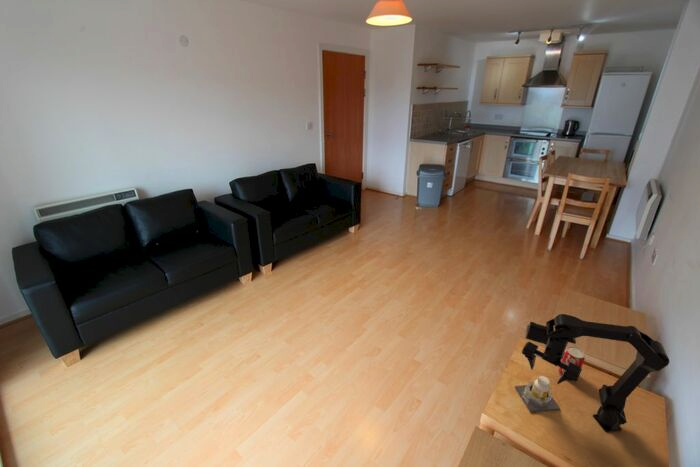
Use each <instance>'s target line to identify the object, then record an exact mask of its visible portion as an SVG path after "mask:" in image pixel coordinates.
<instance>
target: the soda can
mask: <svg viewBox="0 0 700 467" xmlns="http://www.w3.org/2000/svg"><path fill="white" fill-rule="evenodd" d="M585 359H586V356H585V352H584V351H583V350H582V349H581V348H578V347H575V346H569V347H566V349H565V354H564V356H563V358H562V359H561V361H562V362H564V363H566V364H568V365H569V364H570V362H571V363H573V364H575V365H577V366H579V367H581V368H582V367H583V365H584V362H585ZM557 370H558V373H559V375H560V377H561V376H562V374H563V373H564V371H565V370H564V369H562V368H560V367H558V368H557Z"/></svg>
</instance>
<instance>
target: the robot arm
mask: <svg viewBox="0 0 700 467" xmlns="http://www.w3.org/2000/svg"><path fill="white" fill-rule="evenodd" d="M545 324H546V325H542V324H538V323H536V322H533V321H530V322H529V323H528V325H527V327H526V330H525V337H524V338H525V339H526V340H530V341H527V342H526V343H525V344H524V346H523V347H522V350H521V353H522V355H523V356H524V357H525V358H526V359H527V361H528V363H529V365H530V370H531V371H532V370H534V367H535V365H536V359H537V357H538V358H540V359H541V360H543V361H545V362H547V363H549V364H551V365H553V366H556V367H558V368H559V367H560V368H562V369H564V370H565V371H564V373H563V374H562V376H561V375H560V377H559V379H558V381H557V382H556V383H557V385H560V384H561V383H564V382H566V381H570V382H571V381H573V382H577V381H578V380H579V377H580V376H581V373H582V372H583V369H582V367H579V366H577V365H575V364H573V363H571V362H570V364H569V365H568V364H566V363H564V362H562V361H561V360H562V358H563V356H564V354H565V350H566V349H567V348H568V347H567V346H568V344H569V343H571V344H575V345H576V344H577V341H576V339H577V338H581V337H590V338H597V339H604V340H611V341H616V342H617V341H618V342H624V343H625V342H626V343H629V344H630V345H631V346H633V348H634V349H635V350H636V356H635V359H634V361H633V362H631V364H630V365H629V366H628V368H627V369H626V370H625V371H624V372H623V374H621V376H620V377H619V378H618V379H617V380H616V381H615V382H614V384H613V385H607V384H605V383H604V384H602V386H601V387H600V388H599V389H598V390H597V391H598V396H599V401H600V406H599V408H598V409H597V411H596V413H595V414H592V416H593V419H594V420H595V421H596V422H597V423H598V424H599V426H600V427H601V429H602V430H603V431H604V432H605V433H609V432H611V433H612V432H621V431H622V430H623V428H622V427H621V425H625V424H627V422H628V421H627V417H626V413H625V407H626V402H627V398H628V397H629V396H630V395H631V394H632V393H633V392H634V391H635V390H636V389H637V388H638V386H640V384H642V382H643V381H644V380H645V379H646V378H647V377H648V376H649V375H650V373H655V372H660V371H661V370H663V369H665V368H666V367H667V366H668V365H669V364H670V359H669V356H668V354H667V352H666V349H665V348H664V346H663V344H662V343H661V342H659V341H657V340H654V339H653V338H651V337H650V335H648V334H647V333H644V332H643V331H641V330H639V329H638V328H637V327H636V326H634V325H627V326H626V325H617V324H611V323H610V324H609V323H601V322H593V321H587V320H582V319H580V318H578V317H577V316H573V315H569V314H564V313H559V314H558V315H556V316H555V317H553V318H551V319H550V320H547V321H546V322H545ZM531 341H533V342H536V343H538V344H539V343H540V344H543V345H545V348H544V350H543V352H542V351H540V350H539V345H537V344H535V343H533V342H531Z"/></svg>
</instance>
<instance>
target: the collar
mask: <svg viewBox="0 0 700 467" xmlns="http://www.w3.org/2000/svg"><path fill="white" fill-rule="evenodd" d="M534 382H535V381H531V382H530V381H529V382H528V383H527V384H523V385H515V386H514V388H515V391H516V392H517V394H518V395H519V397H520V399H521V398H522V399H521V400H522V402H523V403H524V405H525V406H526V408H527V410H528V412H529V413H540V412H549V411H550V412H551V411H560V410H561V407H560V406H559V404H558V403H557V402H556V400H555V399H554V397H553V395H552V394H553V393H552V392H551V390H549V392H548V394H547V397H546V399H540V398H537V397H535V396H534V395H533V394H532V393H531V390H532V387H533V385H534Z"/></svg>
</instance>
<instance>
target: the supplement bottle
mask: <svg viewBox="0 0 700 467" xmlns="http://www.w3.org/2000/svg"><path fill="white" fill-rule="evenodd" d="M533 382H534V385H533V387H532V390H531V393H532V394H533V395H534V396H535V397H537V398H540V399H546V397H547V394H548V392H549V391H551V390H550V389H551V387H550V383H551V381H550V380H549V379H548V377H546V376H544V375H539V376H538V378H537V379H535V380H534V381H533Z"/></svg>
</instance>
